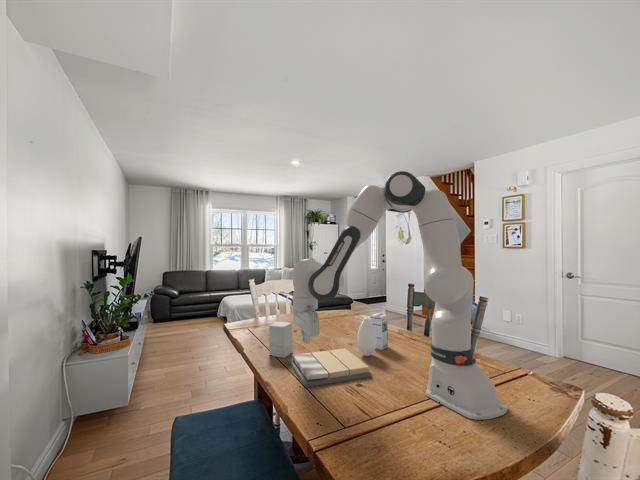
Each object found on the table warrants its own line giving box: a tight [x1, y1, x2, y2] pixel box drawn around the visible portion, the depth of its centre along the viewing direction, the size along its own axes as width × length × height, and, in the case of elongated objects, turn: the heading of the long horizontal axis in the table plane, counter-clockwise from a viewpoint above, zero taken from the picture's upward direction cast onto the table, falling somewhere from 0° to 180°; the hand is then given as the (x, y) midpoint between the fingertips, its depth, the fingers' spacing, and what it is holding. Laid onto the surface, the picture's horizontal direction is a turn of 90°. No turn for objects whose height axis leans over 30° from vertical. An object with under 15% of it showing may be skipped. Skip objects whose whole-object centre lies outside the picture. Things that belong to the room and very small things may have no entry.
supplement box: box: [268, 321, 293, 358], centre depth 126 cm, size 7×7×13 cm
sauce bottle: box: [356, 311, 377, 357], centre depth 124 cm, size 8×8×18 cm
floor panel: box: [288, 348, 372, 388], centre depth 110 cm, size 22×24×3 cm
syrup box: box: [369, 312, 389, 351], centre depth 134 cm, size 6×6×14 cm
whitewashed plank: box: [291, 352, 328, 380], centre depth 108 cm, size 20×7×2 cm, turn 20°
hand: (306, 342), depth 107 cm, fingers closed
